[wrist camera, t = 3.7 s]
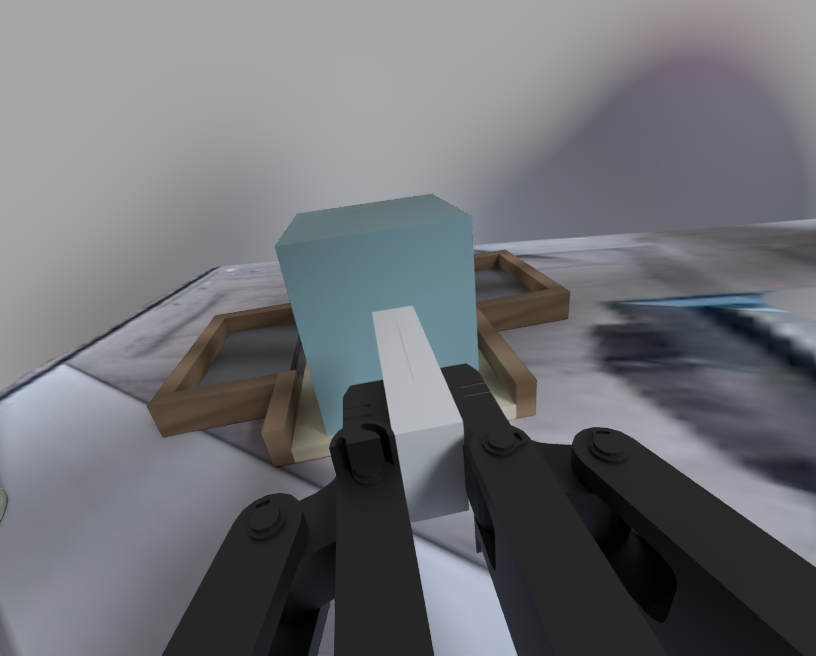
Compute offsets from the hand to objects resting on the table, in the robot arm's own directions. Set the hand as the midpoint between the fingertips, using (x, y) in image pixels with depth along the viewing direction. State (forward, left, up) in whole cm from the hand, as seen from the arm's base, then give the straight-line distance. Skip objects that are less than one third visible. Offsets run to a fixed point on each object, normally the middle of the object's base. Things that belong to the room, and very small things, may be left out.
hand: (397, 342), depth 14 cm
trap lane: (-9, -16, -9) cm, 20 cm away
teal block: (-5, -8, -8) cm, 12 cm away
